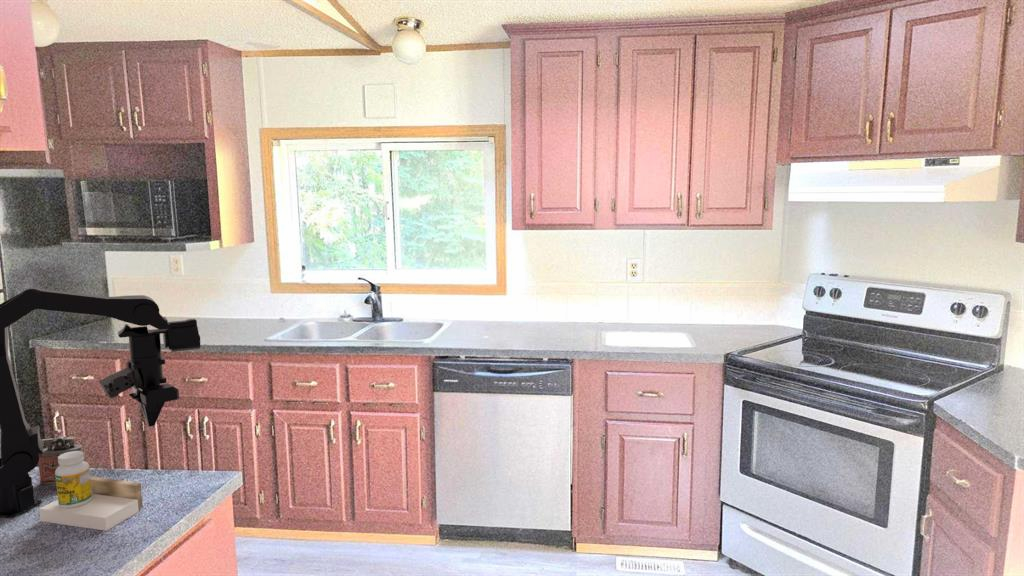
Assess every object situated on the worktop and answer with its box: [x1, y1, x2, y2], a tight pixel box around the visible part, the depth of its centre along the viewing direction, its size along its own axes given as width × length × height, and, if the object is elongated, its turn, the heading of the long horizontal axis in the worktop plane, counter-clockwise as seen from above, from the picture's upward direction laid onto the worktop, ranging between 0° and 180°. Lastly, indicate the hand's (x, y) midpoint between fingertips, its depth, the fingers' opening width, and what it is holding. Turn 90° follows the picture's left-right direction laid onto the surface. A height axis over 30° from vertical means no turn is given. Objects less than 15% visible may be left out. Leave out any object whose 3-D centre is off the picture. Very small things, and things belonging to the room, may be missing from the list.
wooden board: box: [90, 475, 144, 510], centre depth 122 cm, size 13×1×5 cm, turn 77°
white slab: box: [39, 494, 140, 532], centre depth 119 cm, size 15×9×6 cm, turn 77°
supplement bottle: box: [55, 450, 92, 508], centre depth 118 cm, size 5×5×10 cm
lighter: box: [38, 435, 83, 488], centre depth 132 cm, size 8×3×10 cm, turn 111°
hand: (151, 425), depth 133 cm, fingers closed
